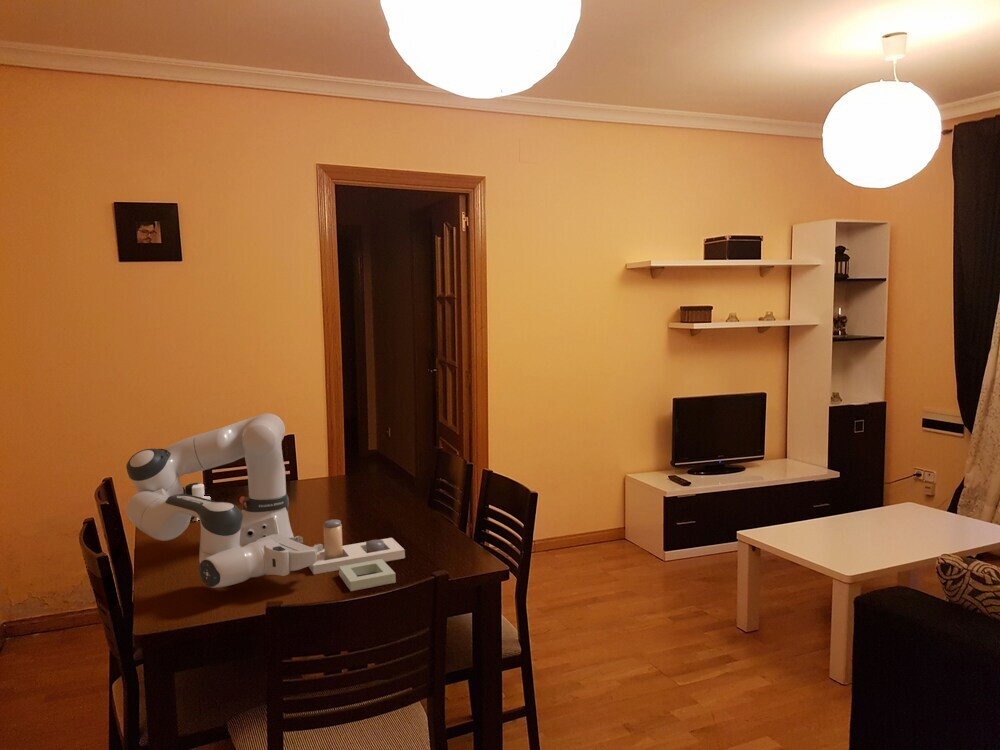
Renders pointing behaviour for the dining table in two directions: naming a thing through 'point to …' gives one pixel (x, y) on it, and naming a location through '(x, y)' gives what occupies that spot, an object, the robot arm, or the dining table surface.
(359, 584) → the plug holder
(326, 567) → the white rectangular tray
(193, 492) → the medicine bottle
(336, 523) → the tan plug
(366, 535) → the dining table surface
